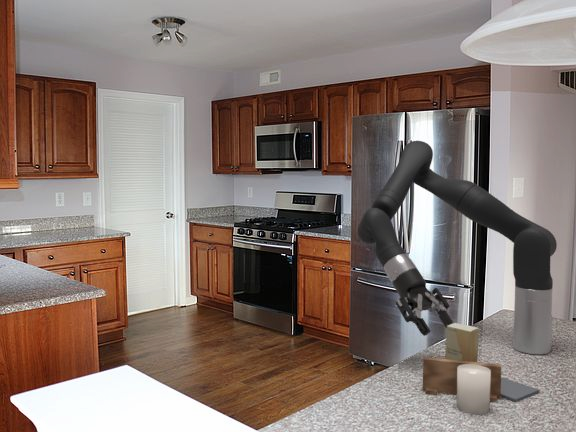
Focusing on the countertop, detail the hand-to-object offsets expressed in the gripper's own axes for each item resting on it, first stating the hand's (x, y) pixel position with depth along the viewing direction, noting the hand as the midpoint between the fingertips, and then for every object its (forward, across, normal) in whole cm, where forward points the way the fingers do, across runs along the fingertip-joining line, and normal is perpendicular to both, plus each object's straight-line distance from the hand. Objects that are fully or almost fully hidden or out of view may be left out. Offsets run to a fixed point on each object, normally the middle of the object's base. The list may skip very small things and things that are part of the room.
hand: (438, 330), depth 132 cm
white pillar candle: (+20, +13, +8) cm, 24 cm away
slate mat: (+19, -1, +6) cm, 20 cm away
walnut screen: (+15, +9, +3) cm, 18 cm away
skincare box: (+12, +1, -2) cm, 12 cm away
